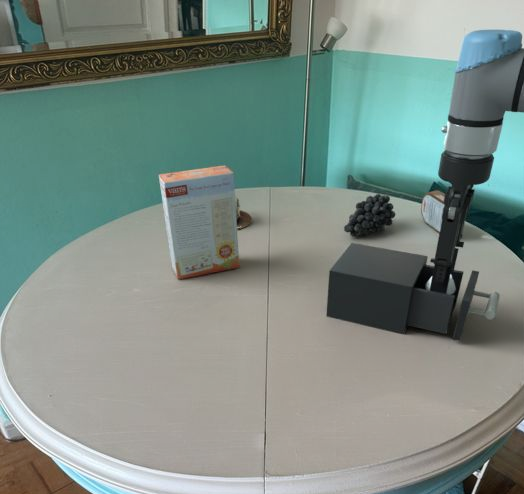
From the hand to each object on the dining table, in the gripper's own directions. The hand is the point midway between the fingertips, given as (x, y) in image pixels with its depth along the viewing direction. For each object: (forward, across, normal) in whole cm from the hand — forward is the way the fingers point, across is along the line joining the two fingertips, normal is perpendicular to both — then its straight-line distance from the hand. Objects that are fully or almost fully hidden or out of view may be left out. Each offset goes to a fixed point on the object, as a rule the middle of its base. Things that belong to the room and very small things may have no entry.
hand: (440, 288), depth 91 cm
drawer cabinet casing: (+7, 0, -11) cm, 13 cm away
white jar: (+1, 0, 0) cm, 1 cm away
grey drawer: (+6, 0, +1) cm, 6 cm away
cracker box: (+7, -1, -49) cm, 50 cm away
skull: (+7, -26, -57) cm, 63 cm away
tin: (+7, -42, -7) cm, 43 cm away
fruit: (+7, -34, -23) cm, 42 cm away
